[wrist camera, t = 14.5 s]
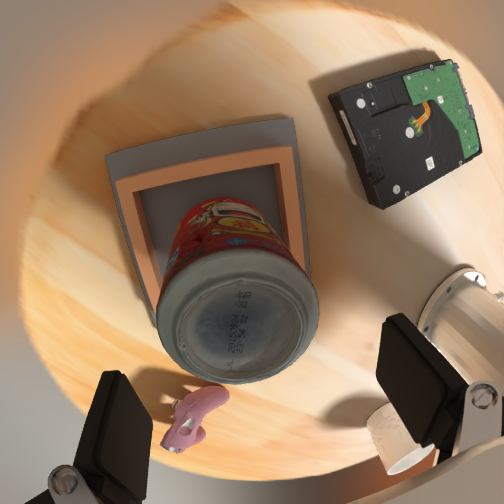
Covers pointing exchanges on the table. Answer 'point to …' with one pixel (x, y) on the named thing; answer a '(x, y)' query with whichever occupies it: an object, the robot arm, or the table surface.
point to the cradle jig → (206, 189)
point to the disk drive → (407, 129)
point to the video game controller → (192, 417)
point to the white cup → (394, 441)
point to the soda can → (234, 296)
